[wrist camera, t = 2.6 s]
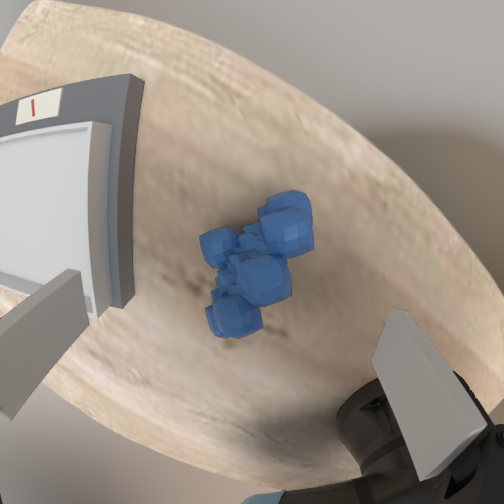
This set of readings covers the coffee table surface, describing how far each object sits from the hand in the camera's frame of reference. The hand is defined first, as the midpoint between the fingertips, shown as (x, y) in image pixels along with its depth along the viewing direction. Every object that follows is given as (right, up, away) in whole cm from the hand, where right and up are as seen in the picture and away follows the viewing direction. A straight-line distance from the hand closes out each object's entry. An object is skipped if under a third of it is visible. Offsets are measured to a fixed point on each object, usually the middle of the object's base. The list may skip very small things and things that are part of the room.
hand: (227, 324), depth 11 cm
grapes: (+1, +4, +14) cm, 15 cm away
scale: (-21, +10, +13) cm, 26 cm away
